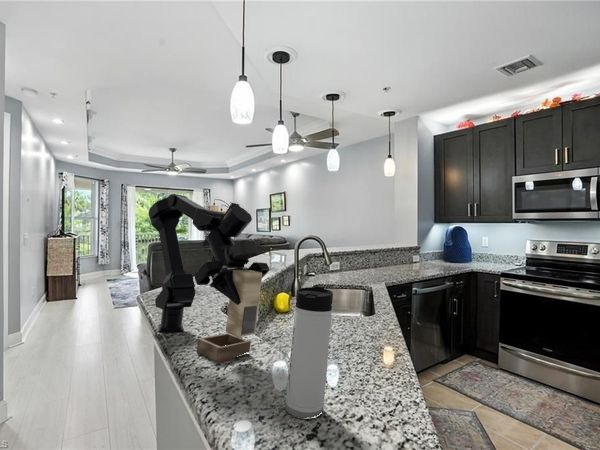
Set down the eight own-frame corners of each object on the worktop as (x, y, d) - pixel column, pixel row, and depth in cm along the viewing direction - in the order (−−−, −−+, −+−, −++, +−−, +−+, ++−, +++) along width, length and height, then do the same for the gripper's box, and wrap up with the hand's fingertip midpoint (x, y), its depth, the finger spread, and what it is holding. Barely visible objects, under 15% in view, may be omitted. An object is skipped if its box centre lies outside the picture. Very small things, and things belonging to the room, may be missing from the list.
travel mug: (327, 405, 55) (337, 288, 56) (317, 424, 49) (328, 292, 50) (293, 396, 57) (304, 284, 59) (279, 413, 51) (291, 287, 52)
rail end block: (225, 331, 72) (233, 270, 73) (242, 328, 76) (249, 270, 77) (239, 337, 69) (247, 273, 70) (256, 334, 73) (263, 273, 74)
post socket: (196, 351, 75) (198, 338, 75) (227, 344, 82) (228, 333, 82) (218, 362, 70) (219, 348, 70) (249, 354, 77) (250, 341, 77)
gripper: (208, 223, 70) (235, 282, 62) (268, 232, 84) (296, 280, 76) (184, 255, 74) (206, 314, 67) (245, 258, 89) (269, 307, 81)
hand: (248, 302), depth 73 cm, fingers closed on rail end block, 5 cm apart
